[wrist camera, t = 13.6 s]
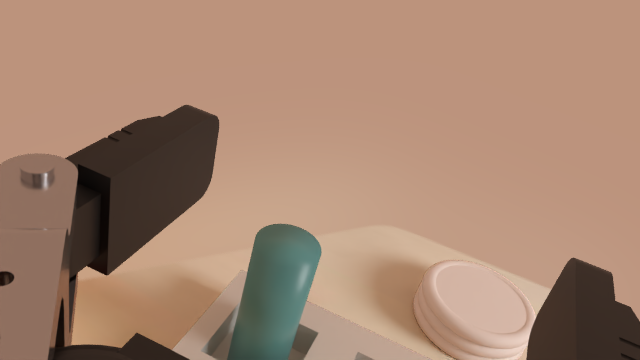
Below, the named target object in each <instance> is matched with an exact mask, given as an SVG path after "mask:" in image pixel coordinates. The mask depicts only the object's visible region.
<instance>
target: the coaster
mask: <svg viewBox="0 0 640 360" xmlns="http://www.w3.org/2000/svg"><path fill="white" fill-rule="evenodd" d="M413 309H414V314H415V318H416V320H417V322H418V324H419V326H420V328H421V329H422V331H423V332H424V333H425V335H426V336H427V337H428V338H429V339H430V340H431V341H432V342H433V343H434V344H435V345H436V346H437V347H439V348H440V349H441V350H443V351H444V352H445V353H447V354H449V355H450V356H452V357H454V358H456V359H458V360H518V359H519V357H520V356H521V355H522V353H523V351H524V349H525V348H526V347H527V345H528V340H529V336H530V332H531V329H532V326H533V324H534V321H535V319H536V315H535V312H534V309H533V307H532V305H531V304H530V302H529V300H528V299H527V297H526V296H525V295H524V293H523V292H522V291H521V290H520V289H519V288H518V287H517V286H516V285H515V284H513V283H512V282H511V281H510V280H508V279H507V278H506V277H504V276H503V275H501V274H499V273H498V272H496V271H494V270H492V269H490V268H488V267H485V266H483V265H480V264H477V263H473V262H469V261H463V260H447V261H442V262H438V263H436V264H434V265H433V266H431V267H430V268H429V269H428V270H427V271H426V273H425V274H424V276H423V280H422V281H421V283H420V285H419V288H418V290H417V292H416V294H415V297H414V302H413Z"/></svg>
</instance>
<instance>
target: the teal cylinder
mask: <svg viewBox="0 0 640 360" xmlns="http://www.w3.org/2000/svg"><path fill="white" fill-rule="evenodd" d="M320 256H321V246H320V244H319V242H318V241H317V239H316V238H315V237H314V236H313V235H311V234H310V233H309V232H307V231H306V230H304V229H302V228H299V227H296V226H293V225H288V224H273V225H269V226H266V227H264V228H262V229H261V230H260V231H259V232H258V233H257V235H256V237H255V242H254V246H253V250H252V254H251V259H250V263H249V267H248V272H247V276H246V280H245V284H244V289H243V293H242V297H241V302H240V306H239V310H238V314H237V319H236V323H235V327H234V332H233V336H232V340H231V344H230V349H229V353H228V357H227V360H288V357H289V354H290V351H291V348H292V345H293V342H294V338H295V335H296V332H297V329H298V326H299V323H300V319H301V316H302V313H303V310H304V307H305V304H306V300H307V297H308V294H309V291H310V288H311V285H312V281H313V278H314V275H315V272H316V269H317V266H318V262H319V259H320Z"/></svg>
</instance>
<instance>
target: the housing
mask: <svg viewBox="0 0 640 360" xmlns="http://www.w3.org/2000/svg"><path fill="white" fill-rule="evenodd" d="M246 276H247V272H245V271H243V270H241V271H240V272H239V273H238V274H237V276H236V277H235V278H234V279H233V280H232V281H231V283H230V284H229V285H228V286H227V287H226V288H225V289H224V291H223V292H222V293H221V294H220V295H219V296H218V298H217V299H216V300H215V301H214V302H213V303H212V304H211V306H210V307H209V308H208V309H207V310H206V311H205V312H204V314H203V315H202V316H201V317H200V318H199V319H198V321H197V322H196V323H195V324H194V325H193V326H192V327H191V329H190V330H189V331H188V332H187V333H186V334H185V336H184V337H183V338H182V339H181V340H180V341H179V342H178V344H177V345H176V346H175V347H174V348H173V349H172V351H174V352H176V353H178V354H180V355H182V356H184V357H186V358H188V359H190V360H227V357H228V353H229V349H230V344H231V340H232V336H233V332H234V327H235V323H236V319H237V314H238V310H239V306H240V302H241V297H242V293H243V289H244V284H245V280H246ZM288 360H432V359H430V358H428V357H426V356H423V355H421V354H419V353H417V352H415V351H413V350H411V349H409V348H406V347H404V346H402V345H400V344H398V343H396V342H394V341H392V340H390V339H387V338H385V337H383V336H381V335H379V334H377V333H375V332H373V331H370V330H368V329H366V328H364V327H362V326H360V325H358V324H356V323H353V322H351V321H349V320H347V319H345V318H343V317H341V316H339V315H337V314H334V313H332V312H330V311H328V310H326V309H324V308H322V307H320V306H317V305H315V304H313V303H311V302H309V301H307V300H306V304H305V307H304V310H303V313H302V316H301V319H300V323H299V326H298V329H297V332H296V335H295V338H294V342H293V345H292V348H291V351H290V354H289V357H288Z"/></svg>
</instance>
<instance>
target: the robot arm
mask: <svg viewBox="0 0 640 360" xmlns="http://www.w3.org/2000/svg"><path fill="white" fill-rule="evenodd" d="M218 132H219V120H218V117H217V116H215V115H213V114H210V113H208V112H205V111H202V110H200V109H197V108H194V107H192V106H189V105H184V106H182V107H180V108H178V109H176V110H175V111H173V112H171V113H169V114H167V115H166V116H164V117H161V116H157V117H152V118H147V119H142V120H137V121H135V122H133V123H132V124H130V125H128V126H126V127H124V128H122V129H121V131H116V132H114V133H112V134H110V135H109V136H108V138H103V139H101V140H99V141H97V142H95V143H93V144H91V145H90V146H88V147H86V148H84V149H82V150H80V151H78V152H76V153H74V154H73V155H71V156H69V157H67V158H65V159H64V158H62V157H59V156H55V155H49V154H27V155H21V156H17V157H13V158H11V159H8V160H6V161H4V162H3V163H2V164H0V360H190V359H188V358H186V357H184V356H182V355H180V354H178V353H176V352H174V351H172V350H170V349H168V348H166V347H164V346H162V345H160V344H158V343H156V342H154V341H152V340H150V339H148V338H146V337H144V336H142V335H140V334H138V333H136V334H135V335H134V336H133V337H132V338H131V339H130V340H129V341H128V342H127V343H126V344H125V345H124V346H123V347H122V348H118V347H112V346H104V345H71V342H72V333H73V323H74V314H75V305H76V295H77V286H78V272H79V271H80V270H82V269H83V268H84V267H86V266H88V267H90V268H92V269H94V270H96V271H98V272H100V273H102V274H104V275H109V274H110V273H111V272H112V271H114V270H115V269H116V268H117V267H118V266H120V265H121V264H122V263H123V262H124V261H126V260H127V259H128V258H129V257H130V256H132V255H133V254H134V253H135V252H137V251H138V250H139V249H140V248H141V247H143V246H144V245H145V244H146V243H147V242H149V241H150V240H151V239H152V238H153V237H154V236H156V235H157V234H158V233H159V232H161V231H162V230H163V229H164V228H166V227H167V226H168V225H169V224H170V223H172V222H173V221H174V220H175V219H176V218H178V217H179V216H180V215H181V214H183V213H184V212H185V211H186V210H187V209H189V208H190V207H191V206H192V205H194V204H195V203H196V202H197V201H198V200H199V199H201V197H202V196H203V195H204V194H205V192H206V190H207V188H208V186H209V184H210V181H211V178H212V173H213V166H214V159H215V152H216V145H217V138H218ZM527 360H640V321H639V320H638V318H637V317H636V315H635V313H634V312H633V311H632V309H631V307H629V306H627V305H624V304H622V303H619V302H617V301H615V294H614V284H613V276H612V273H611V272H609V271H606V270H604V269H601V268H599V267H596V266H593V265H591V264H589V263H586V262H583V261H581V260H578V259H576V258H571V259H570V260H569V261H568V263H567V264H566V266H565V267H564V269H563V271H562V272H561V274H560V276H559V278H558V279H557V281H556V283H555V285H554V286H553V288H552V290H551V292H550V293H549V295H548V297H547V299H546V300H545V302H544V304H543V306H542V307H541V309H540V311H539V313H538V315H537V317H536V319H535V321H534V324H533V326H532V329H531V332H530V336H529V340H528V349H527Z"/></svg>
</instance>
